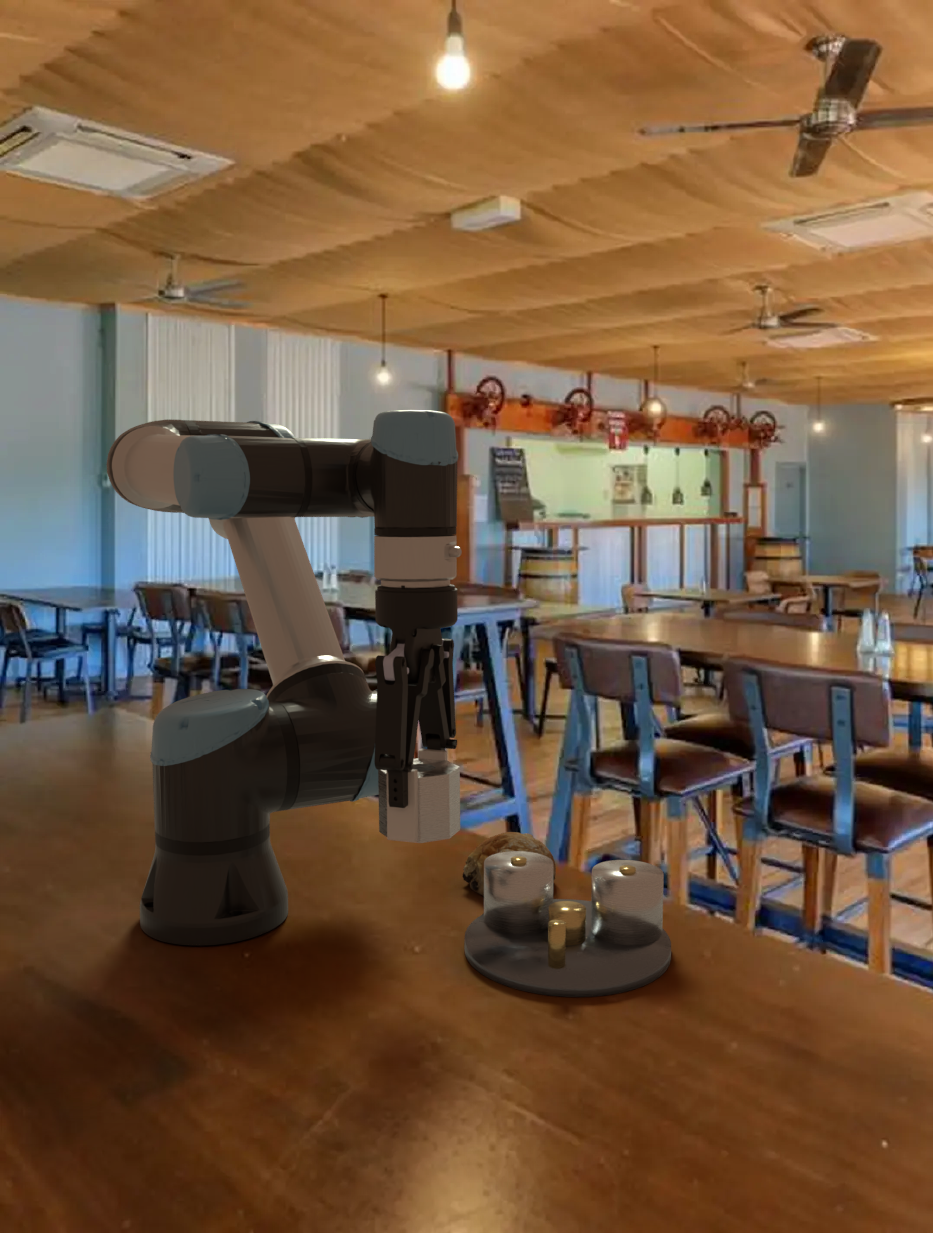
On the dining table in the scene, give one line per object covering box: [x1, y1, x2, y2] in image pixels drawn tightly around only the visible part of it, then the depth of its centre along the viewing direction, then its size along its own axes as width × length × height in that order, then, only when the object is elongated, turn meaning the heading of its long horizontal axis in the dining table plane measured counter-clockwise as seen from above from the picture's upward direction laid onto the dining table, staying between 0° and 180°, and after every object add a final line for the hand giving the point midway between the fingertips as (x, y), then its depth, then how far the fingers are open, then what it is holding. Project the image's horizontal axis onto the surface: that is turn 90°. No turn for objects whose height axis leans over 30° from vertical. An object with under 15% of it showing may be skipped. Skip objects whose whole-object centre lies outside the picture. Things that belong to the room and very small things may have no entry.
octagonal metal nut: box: [378, 758, 461, 844], centre depth 101 cm, size 7×7×6 cm
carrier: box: [464, 851, 672, 998], centre depth 105 cm, size 20×20×8 cm
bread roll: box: [462, 831, 557, 897], centre depth 122 cm, size 10×10×8 cm
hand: (418, 827), depth 101 cm, fingers closed on octagonal metal nut, 7 cm apart
